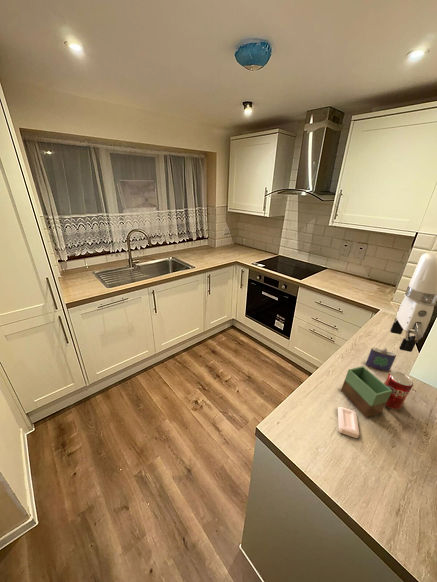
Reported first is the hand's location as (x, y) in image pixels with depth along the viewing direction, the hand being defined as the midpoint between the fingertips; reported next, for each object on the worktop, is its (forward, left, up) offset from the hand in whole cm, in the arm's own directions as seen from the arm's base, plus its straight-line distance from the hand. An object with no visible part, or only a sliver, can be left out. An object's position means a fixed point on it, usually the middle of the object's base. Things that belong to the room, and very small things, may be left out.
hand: (399, 341), depth 77 cm
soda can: (-5, +3, -27) cm, 28 cm away
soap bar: (+18, +5, -27) cm, 33 cm away
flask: (-16, -13, -27) cm, 34 cm away
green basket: (+6, -1, -22) cm, 22 cm away
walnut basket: (+6, -1, -27) cm, 28 cm away
